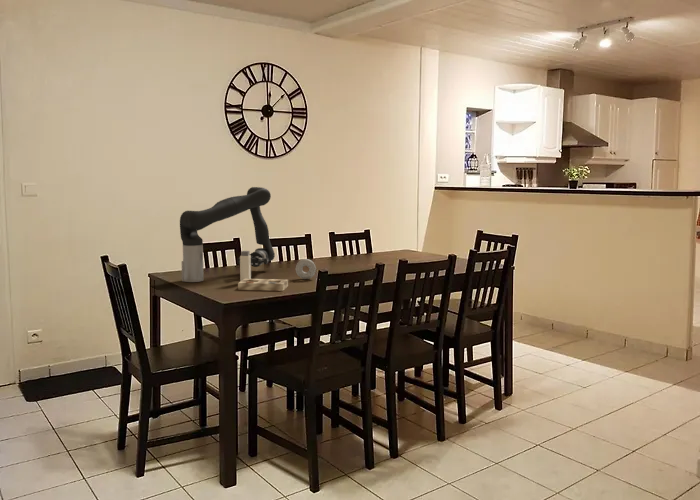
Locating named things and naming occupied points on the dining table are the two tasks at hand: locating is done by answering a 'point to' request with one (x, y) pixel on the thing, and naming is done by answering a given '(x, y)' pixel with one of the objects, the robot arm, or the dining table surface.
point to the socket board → (263, 284)
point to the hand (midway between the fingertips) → (249, 262)
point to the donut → (301, 273)
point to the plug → (245, 265)
